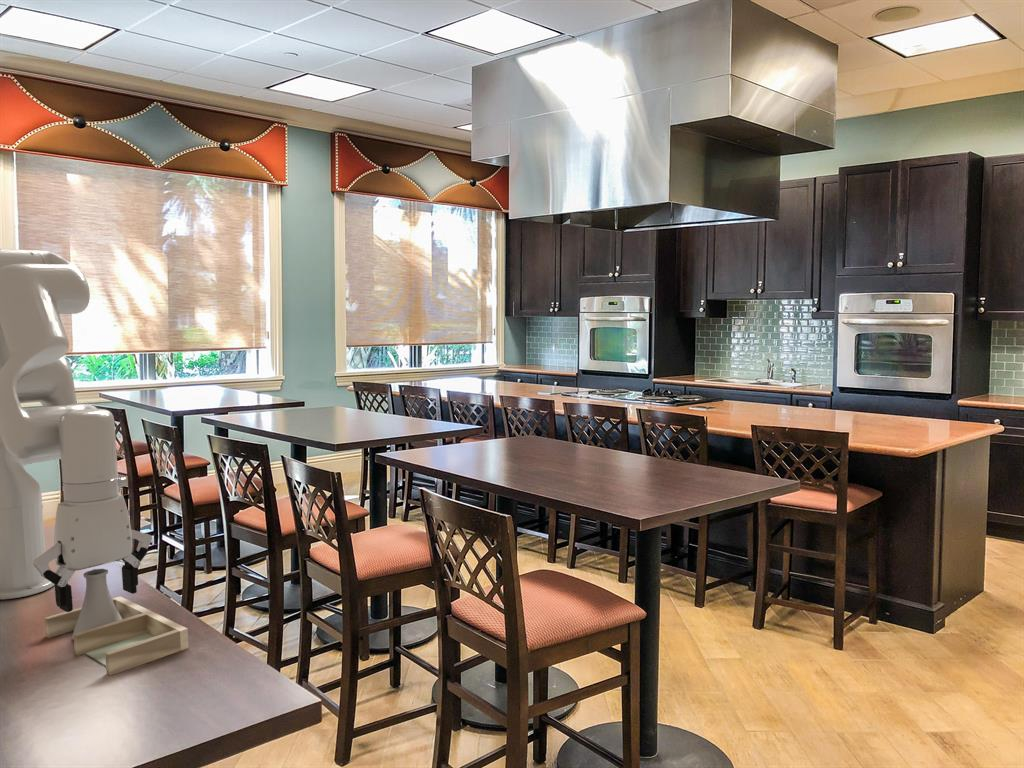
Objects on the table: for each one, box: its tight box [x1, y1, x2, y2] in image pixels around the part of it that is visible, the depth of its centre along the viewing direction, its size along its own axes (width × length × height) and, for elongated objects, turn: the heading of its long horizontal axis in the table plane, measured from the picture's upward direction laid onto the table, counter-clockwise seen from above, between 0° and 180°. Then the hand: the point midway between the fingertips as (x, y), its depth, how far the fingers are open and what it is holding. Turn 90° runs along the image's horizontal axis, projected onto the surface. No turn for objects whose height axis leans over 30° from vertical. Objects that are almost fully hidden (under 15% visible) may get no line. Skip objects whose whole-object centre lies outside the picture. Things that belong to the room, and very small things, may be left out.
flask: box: [71, 568, 122, 640], centre depth 128 cm, size 7×7×10 cm
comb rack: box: [44, 595, 190, 677], centre depth 125 cm, size 21×12×3 cm, turn 51°
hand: (98, 600), depth 128 cm, fingers open, 9 cm apart
